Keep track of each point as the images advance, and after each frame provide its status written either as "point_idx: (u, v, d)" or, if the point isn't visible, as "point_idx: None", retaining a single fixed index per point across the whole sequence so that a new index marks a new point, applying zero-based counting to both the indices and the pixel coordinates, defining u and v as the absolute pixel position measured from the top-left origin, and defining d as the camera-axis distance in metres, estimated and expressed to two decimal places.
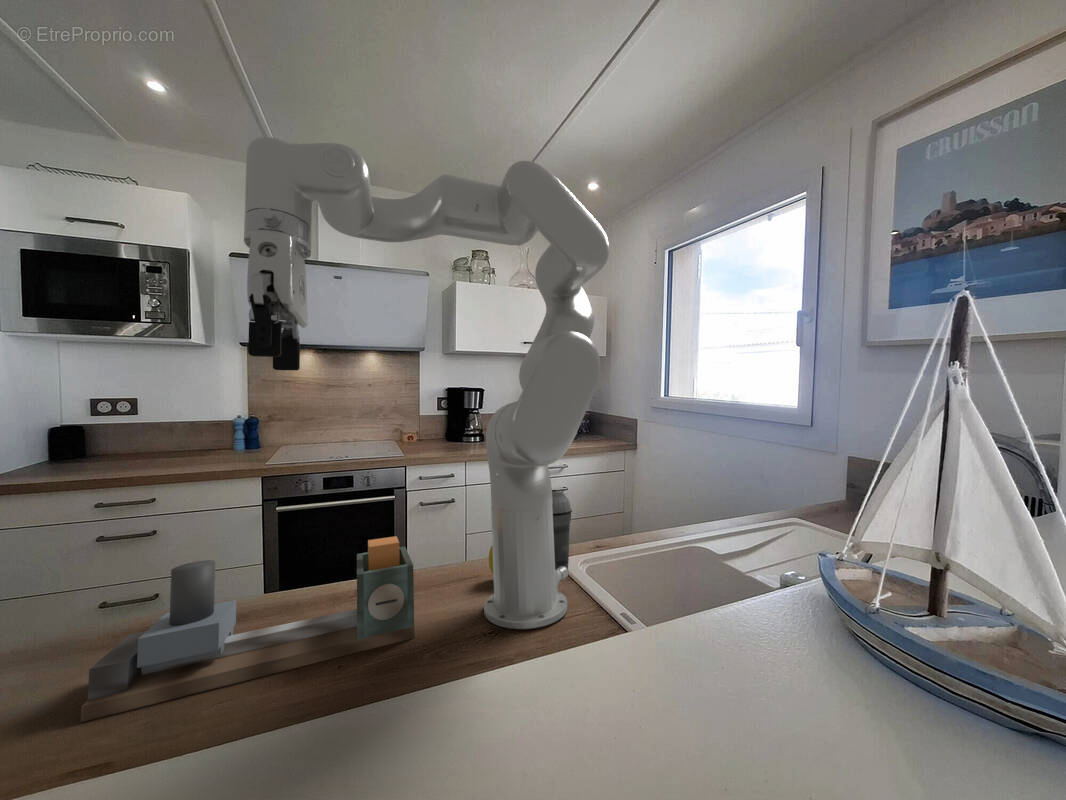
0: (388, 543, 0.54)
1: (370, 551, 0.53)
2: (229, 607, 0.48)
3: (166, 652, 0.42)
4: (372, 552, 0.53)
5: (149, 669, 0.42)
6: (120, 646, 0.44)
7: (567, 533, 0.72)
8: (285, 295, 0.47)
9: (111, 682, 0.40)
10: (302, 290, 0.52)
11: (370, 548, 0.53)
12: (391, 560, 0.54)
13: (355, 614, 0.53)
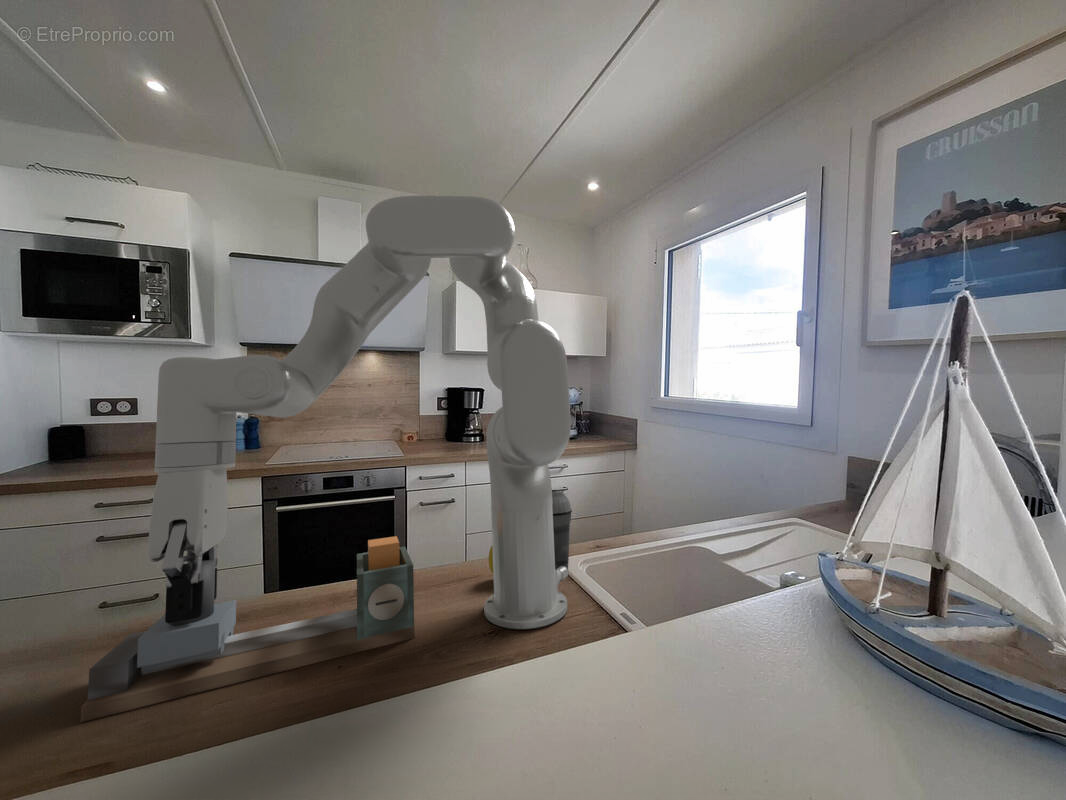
0: (388, 543, 0.54)
1: (370, 551, 0.53)
2: (229, 607, 0.48)
3: (166, 652, 0.42)
4: (372, 552, 0.53)
5: (149, 669, 0.42)
6: (120, 646, 0.44)
7: (567, 533, 0.72)
8: None
9: (111, 682, 0.40)
10: None
11: (370, 548, 0.53)
12: (391, 560, 0.54)
13: (355, 614, 0.53)
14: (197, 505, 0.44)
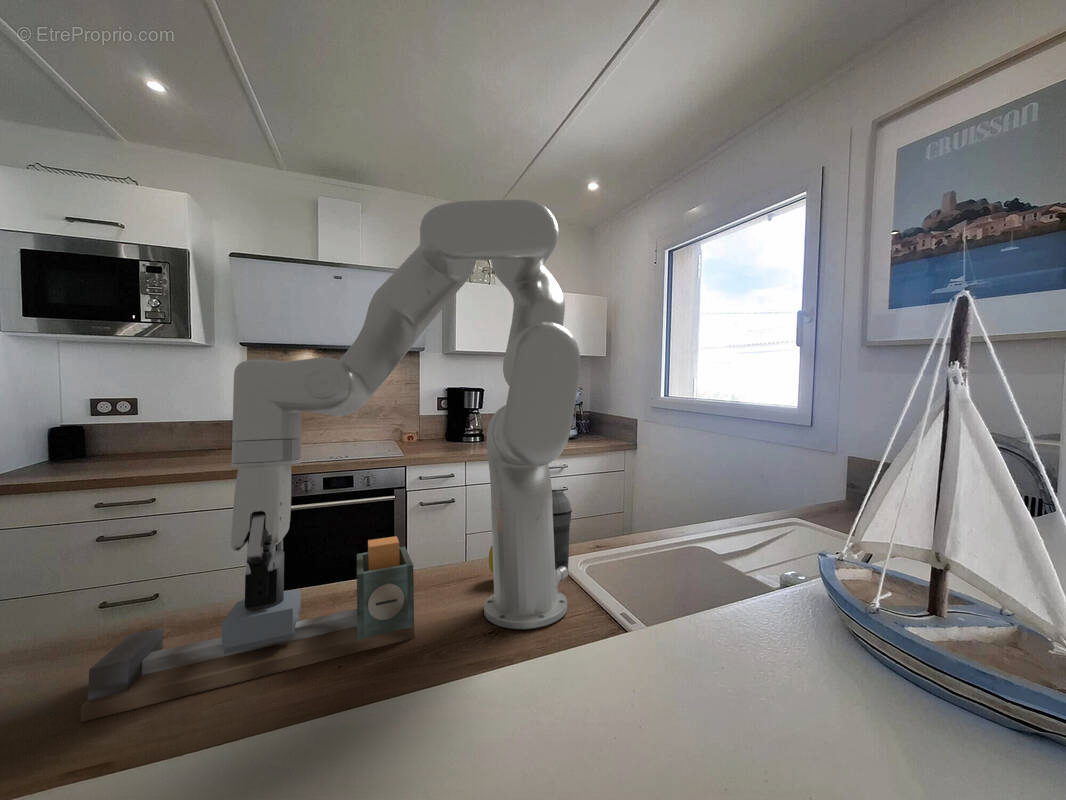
0: (388, 543, 0.54)
1: (370, 551, 0.53)
2: (296, 595, 0.51)
3: (247, 635, 0.45)
4: (372, 552, 0.53)
5: (231, 651, 0.45)
6: (120, 646, 0.44)
7: (567, 533, 0.72)
8: None
9: (111, 682, 0.40)
10: None
11: (370, 548, 0.53)
12: (391, 560, 0.54)
13: (355, 614, 0.53)
14: (273, 498, 0.47)
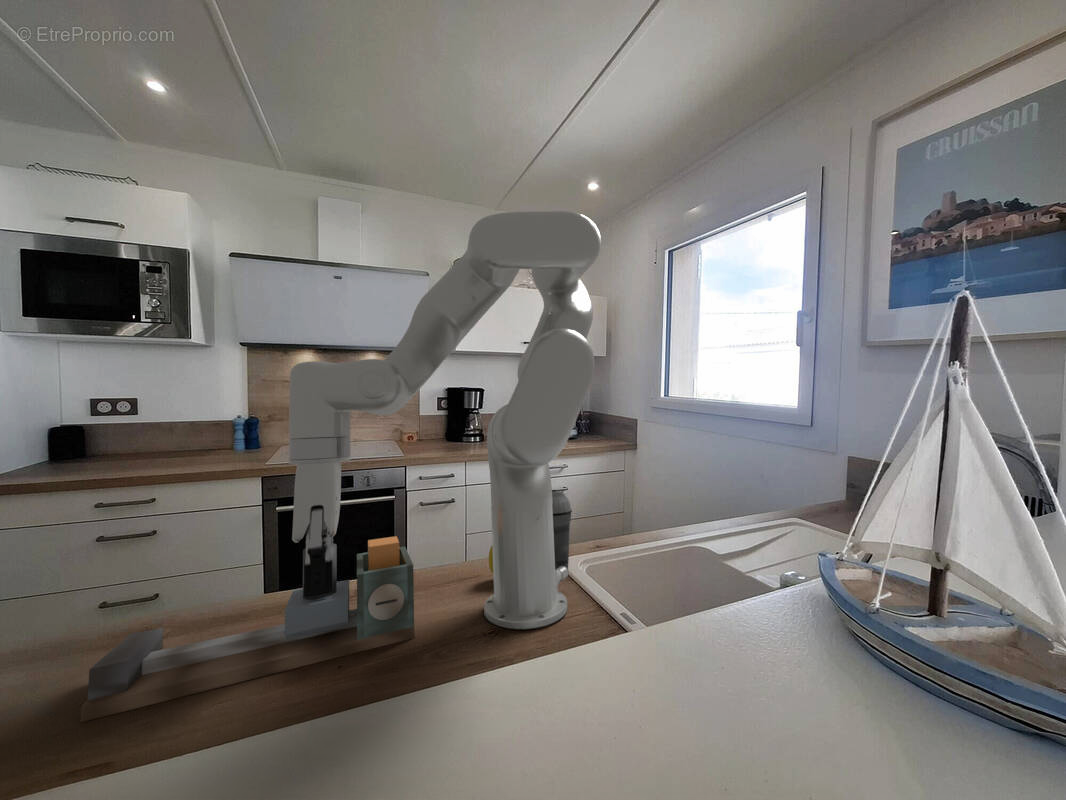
0: (388, 543, 0.54)
1: (370, 551, 0.53)
2: (347, 585, 0.54)
3: (307, 622, 0.48)
4: (372, 552, 0.53)
5: (292, 637, 0.48)
6: (120, 646, 0.44)
7: (567, 533, 0.72)
8: None
9: (111, 682, 0.40)
10: None
11: (370, 548, 0.53)
12: (391, 560, 0.54)
13: (355, 614, 0.53)
14: (330, 493, 0.49)
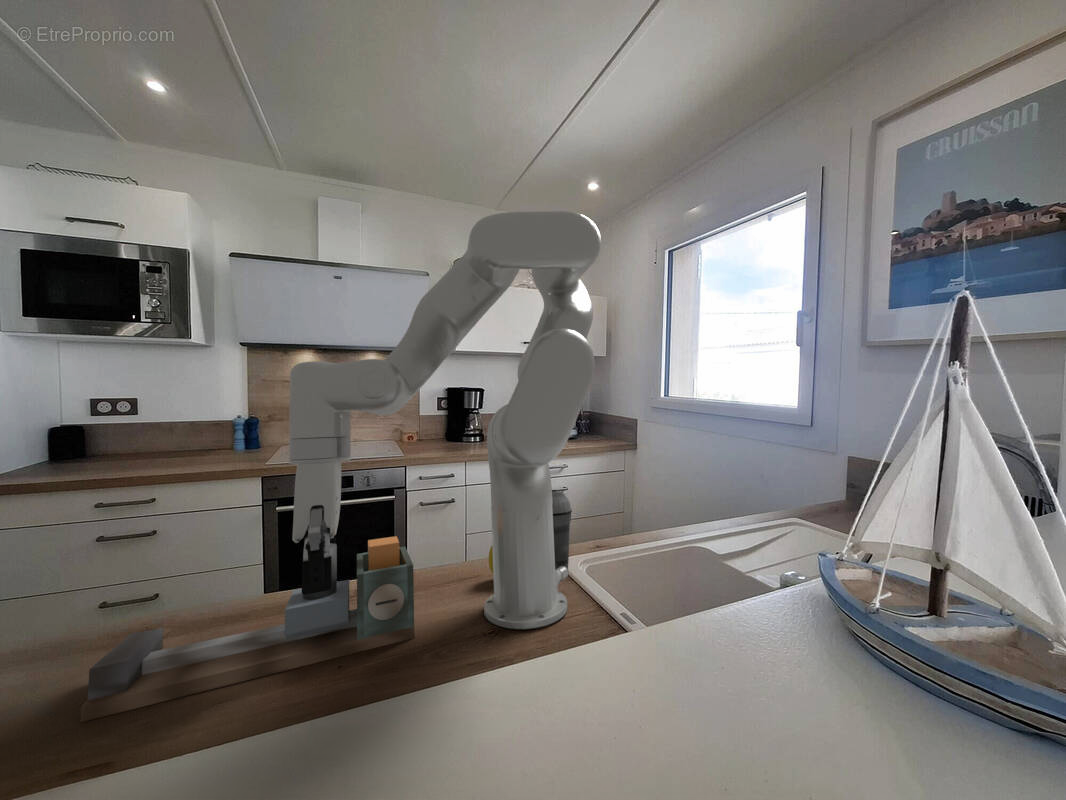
0: (388, 543, 0.54)
1: (370, 551, 0.53)
2: (347, 585, 0.54)
3: (307, 622, 0.48)
4: (372, 552, 0.53)
5: (292, 637, 0.48)
6: (120, 646, 0.44)
7: (567, 533, 0.72)
8: None
9: (111, 682, 0.40)
10: None
11: (370, 548, 0.53)
12: (391, 560, 0.54)
13: (355, 614, 0.53)
14: (330, 492, 0.49)
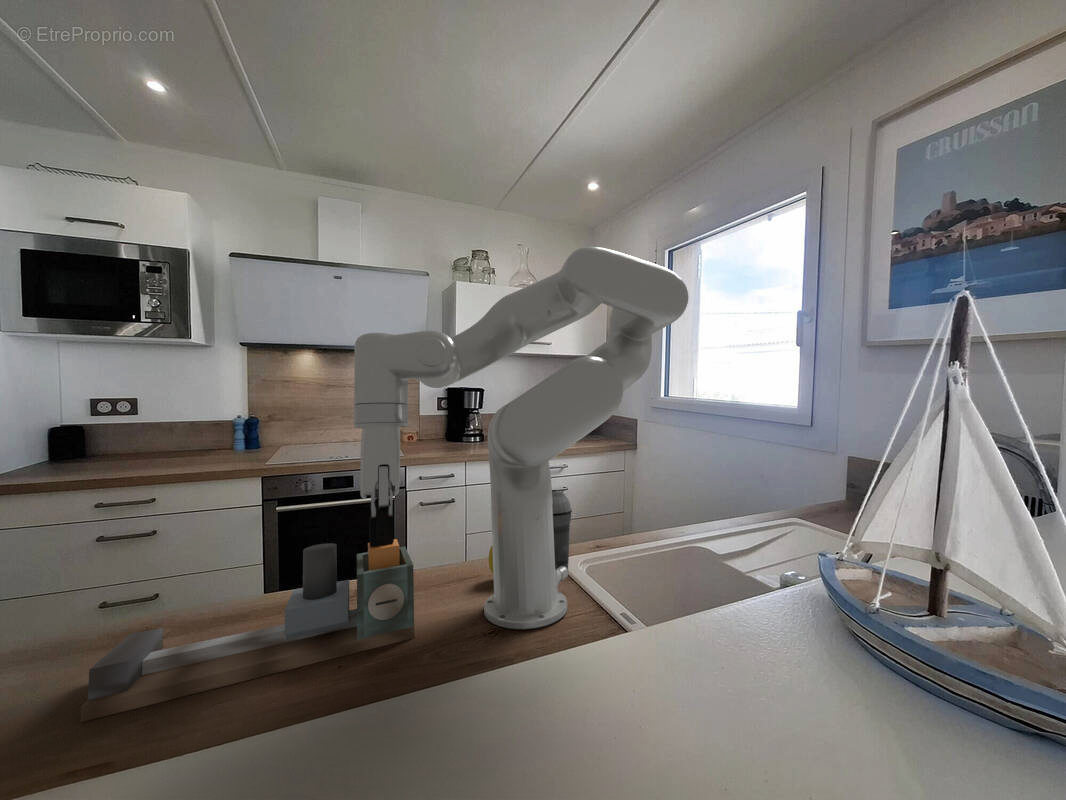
0: (388, 546, 0.54)
1: (370, 554, 0.53)
2: (347, 585, 0.54)
3: (307, 622, 0.48)
4: (372, 555, 0.53)
5: (292, 637, 0.48)
6: (120, 646, 0.44)
7: (567, 533, 0.72)
8: None
9: (111, 682, 0.40)
10: (360, 466, 0.55)
11: (370, 551, 0.53)
12: (391, 563, 0.54)
13: (355, 614, 0.53)
14: (394, 453, 0.53)
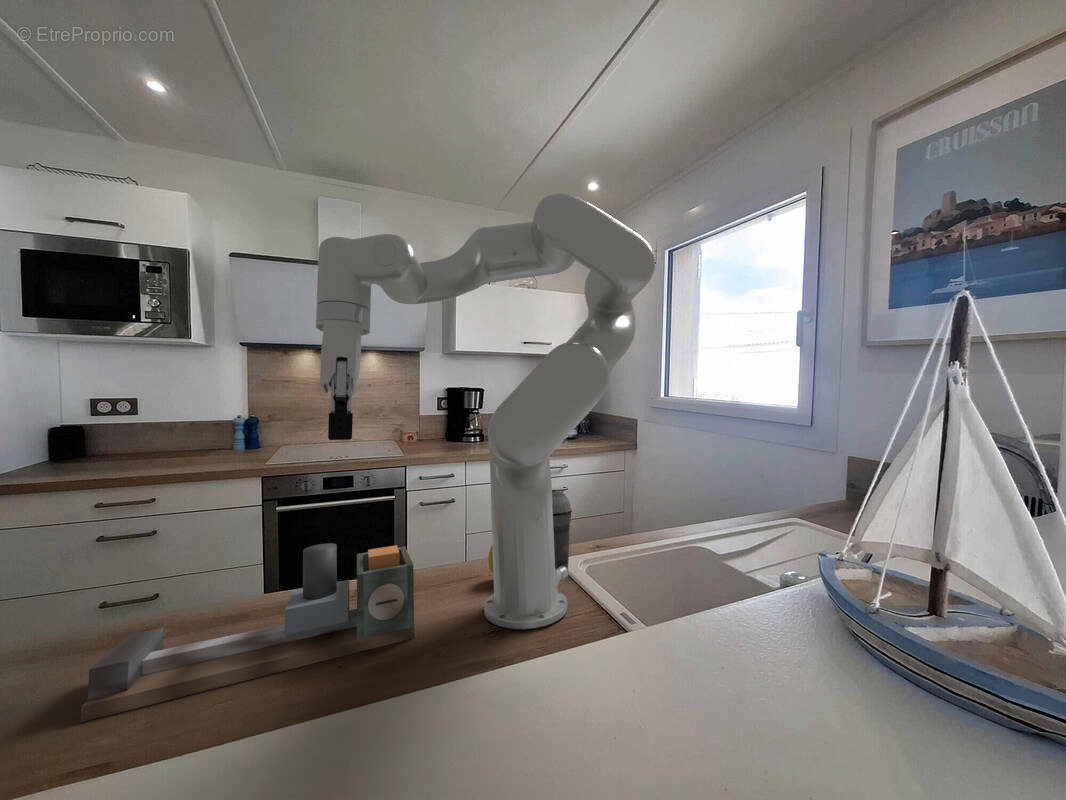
0: (388, 553, 0.54)
1: (370, 561, 0.53)
2: (347, 585, 0.54)
3: (307, 622, 0.48)
4: (372, 562, 0.53)
5: (292, 637, 0.48)
6: (120, 646, 0.44)
7: (567, 533, 0.72)
8: None
9: (111, 682, 0.40)
10: None
11: (370, 558, 0.53)
12: None
13: (355, 614, 0.53)
14: (353, 349, 0.56)
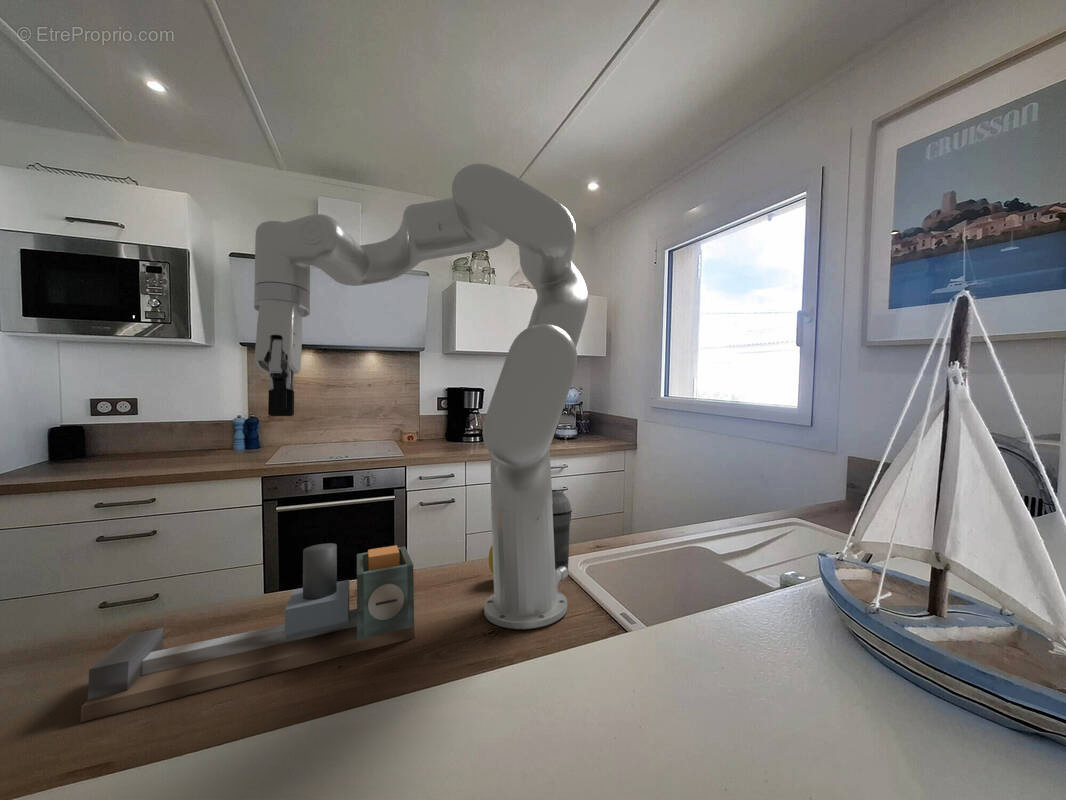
0: (388, 553, 0.54)
1: (370, 561, 0.53)
2: (347, 585, 0.54)
3: (307, 622, 0.48)
4: (372, 562, 0.53)
5: (292, 637, 0.48)
6: (120, 646, 0.44)
7: (567, 533, 0.72)
8: None
9: (111, 682, 0.40)
10: None
11: (370, 558, 0.53)
12: None
13: (355, 614, 0.53)
14: (288, 327, 0.58)
